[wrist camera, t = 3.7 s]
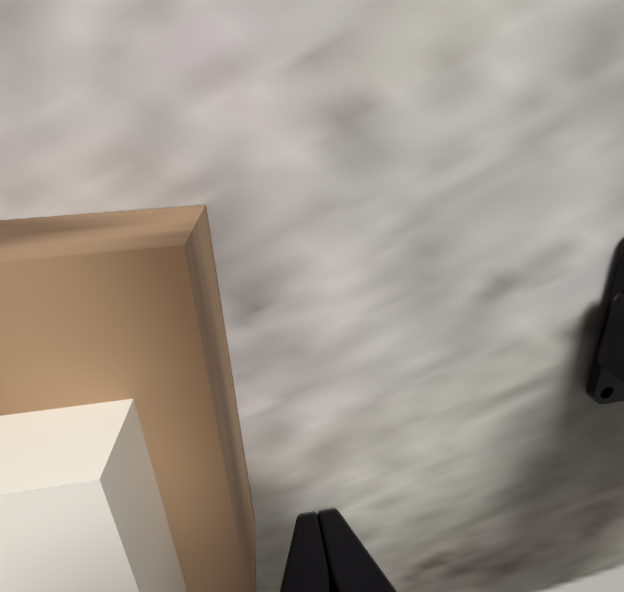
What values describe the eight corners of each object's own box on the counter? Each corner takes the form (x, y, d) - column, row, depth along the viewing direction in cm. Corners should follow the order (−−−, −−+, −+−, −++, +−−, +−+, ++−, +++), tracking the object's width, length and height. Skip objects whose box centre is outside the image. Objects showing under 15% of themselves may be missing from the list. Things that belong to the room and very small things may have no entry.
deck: (205, 205, 11) (184, 245, 7) (254, 520, 15) (257, 644, 12) (-277, 241, 9) (-614, 315, 6) (-61, 574, 14) (-169, 730, 10)
